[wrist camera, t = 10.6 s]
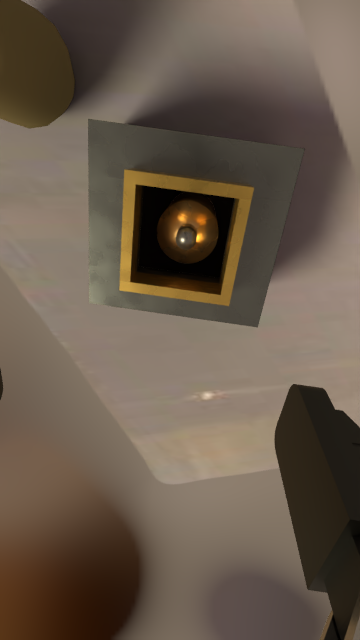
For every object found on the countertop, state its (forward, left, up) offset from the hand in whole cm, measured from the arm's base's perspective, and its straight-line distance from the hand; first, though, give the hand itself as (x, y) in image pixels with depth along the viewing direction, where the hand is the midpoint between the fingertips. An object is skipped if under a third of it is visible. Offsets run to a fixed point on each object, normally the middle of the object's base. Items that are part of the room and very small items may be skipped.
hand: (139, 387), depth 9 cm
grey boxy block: (0, 0, -28) cm, 28 cm away
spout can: (0, 0, -28) cm, 28 cm away
